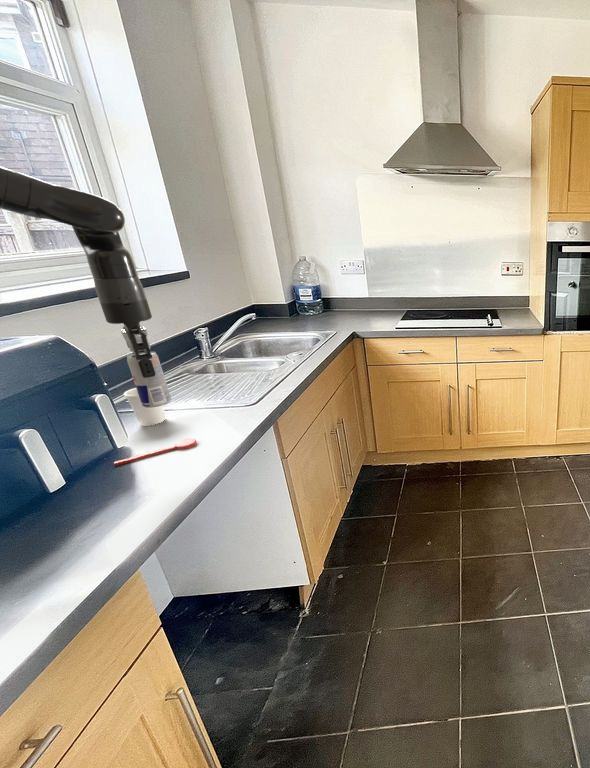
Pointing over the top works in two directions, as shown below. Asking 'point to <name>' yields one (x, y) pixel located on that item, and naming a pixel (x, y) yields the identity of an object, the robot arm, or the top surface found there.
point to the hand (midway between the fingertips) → (147, 373)
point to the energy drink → (150, 383)
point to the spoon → (160, 451)
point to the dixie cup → (144, 410)
